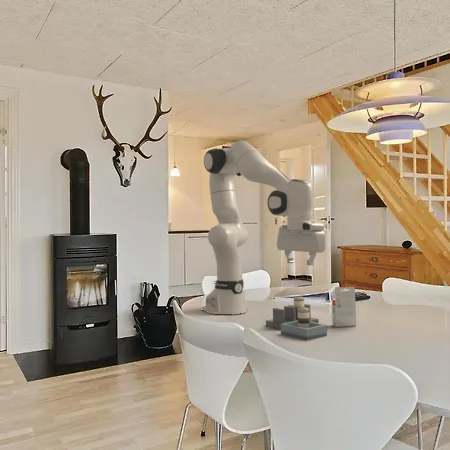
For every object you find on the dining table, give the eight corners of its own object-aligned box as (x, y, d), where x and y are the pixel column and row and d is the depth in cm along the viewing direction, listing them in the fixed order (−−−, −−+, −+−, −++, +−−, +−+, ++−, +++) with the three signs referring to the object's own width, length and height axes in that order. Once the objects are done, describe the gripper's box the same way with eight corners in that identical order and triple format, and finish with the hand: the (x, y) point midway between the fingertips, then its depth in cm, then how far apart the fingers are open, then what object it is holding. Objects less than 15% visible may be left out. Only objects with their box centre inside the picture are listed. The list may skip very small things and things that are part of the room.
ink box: (332, 325, 172) (331, 286, 172) (352, 324, 173) (351, 285, 173) (335, 327, 169) (334, 287, 169) (356, 326, 170) (355, 286, 170)
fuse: (291, 318, 177) (291, 297, 177) (299, 316, 179) (298, 296, 179) (299, 319, 174) (299, 298, 174) (306, 318, 176) (306, 297, 176)
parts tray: (281, 333, 160) (280, 323, 160) (300, 329, 167) (300, 319, 167) (307, 340, 151) (307, 329, 151) (327, 335, 157) (326, 324, 157)
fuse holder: (265, 325, 174) (265, 307, 174) (295, 319, 184) (294, 302, 184) (289, 331, 164) (288, 311, 164) (318, 324, 174) (318, 305, 174)
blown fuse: (295, 331, 159) (294, 308, 159) (303, 329, 162) (302, 306, 162) (304, 333, 156) (303, 309, 156) (312, 331, 159) (311, 308, 159)
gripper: (273, 224, 169) (273, 262, 169) (315, 225, 153) (315, 267, 153) (285, 224, 173) (285, 261, 173) (328, 225, 157) (328, 265, 157)
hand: (299, 264), depth 163 cm, fingers open, 8 cm apart
